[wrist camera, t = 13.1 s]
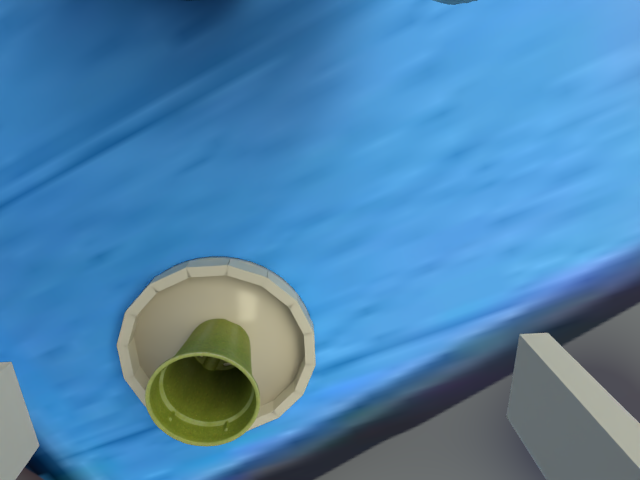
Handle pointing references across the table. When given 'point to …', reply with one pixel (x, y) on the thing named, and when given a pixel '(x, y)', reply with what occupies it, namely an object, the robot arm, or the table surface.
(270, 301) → the saucer
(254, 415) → the plant pot
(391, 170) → the table surface
